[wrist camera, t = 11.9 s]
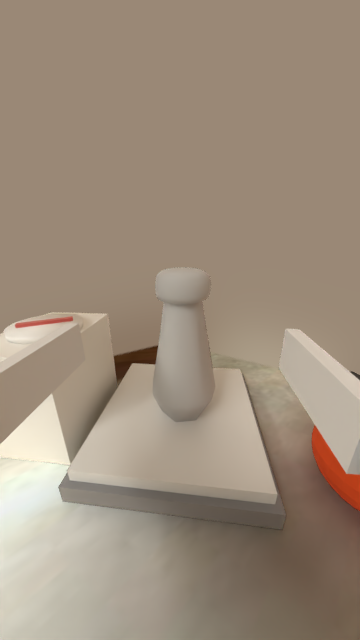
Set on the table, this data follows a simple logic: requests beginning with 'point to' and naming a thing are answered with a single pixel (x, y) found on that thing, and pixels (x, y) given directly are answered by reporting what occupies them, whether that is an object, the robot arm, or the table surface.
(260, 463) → the dial scale
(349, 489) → the clementine
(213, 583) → the table surface
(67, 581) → the table surface
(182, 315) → the salt shaker
